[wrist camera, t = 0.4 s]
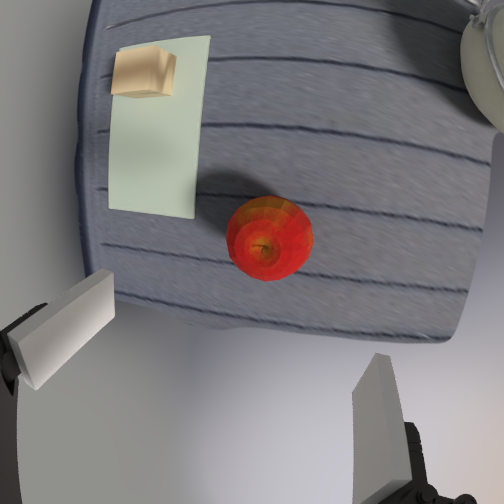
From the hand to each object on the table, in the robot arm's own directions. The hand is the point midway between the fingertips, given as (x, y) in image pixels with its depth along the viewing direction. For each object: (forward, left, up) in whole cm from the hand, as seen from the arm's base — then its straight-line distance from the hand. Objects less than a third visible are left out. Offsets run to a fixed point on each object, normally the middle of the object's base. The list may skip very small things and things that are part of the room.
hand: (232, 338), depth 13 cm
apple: (+1, -1, -27) cm, 27 cm away
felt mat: (-11, -20, -27) cm, 35 cm away
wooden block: (-18, -20, -26) cm, 38 cm away
